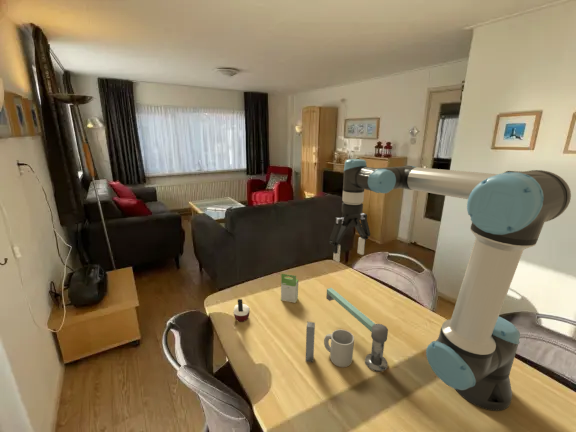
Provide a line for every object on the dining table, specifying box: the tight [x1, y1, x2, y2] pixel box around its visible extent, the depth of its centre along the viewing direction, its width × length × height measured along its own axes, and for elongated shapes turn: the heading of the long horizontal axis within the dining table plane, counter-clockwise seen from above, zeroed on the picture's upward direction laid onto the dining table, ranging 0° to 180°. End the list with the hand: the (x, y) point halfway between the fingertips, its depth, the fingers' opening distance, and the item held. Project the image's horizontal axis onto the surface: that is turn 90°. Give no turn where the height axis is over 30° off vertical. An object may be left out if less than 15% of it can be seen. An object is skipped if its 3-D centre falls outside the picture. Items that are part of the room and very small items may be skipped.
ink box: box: [280, 273, 299, 304], centre depth 125 cm, size 7×4×13 cm, turn 72°
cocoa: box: [233, 298, 251, 323], centre depth 112 cm, size 10×6×12 cm, turn 164°
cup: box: [323, 328, 355, 368], centre depth 93 cm, size 7×10×9 cm
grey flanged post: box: [364, 339, 388, 373], centre depth 91 cm, size 7×7×10 cm
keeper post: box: [305, 321, 316, 363], centre depth 92 cm, size 2×2×14 cm
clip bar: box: [326, 287, 389, 343], centre depth 100 cm, size 30×5×5 cm, turn 26°
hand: (348, 257), depth 109 cm, fingers open, 12 cm apart
